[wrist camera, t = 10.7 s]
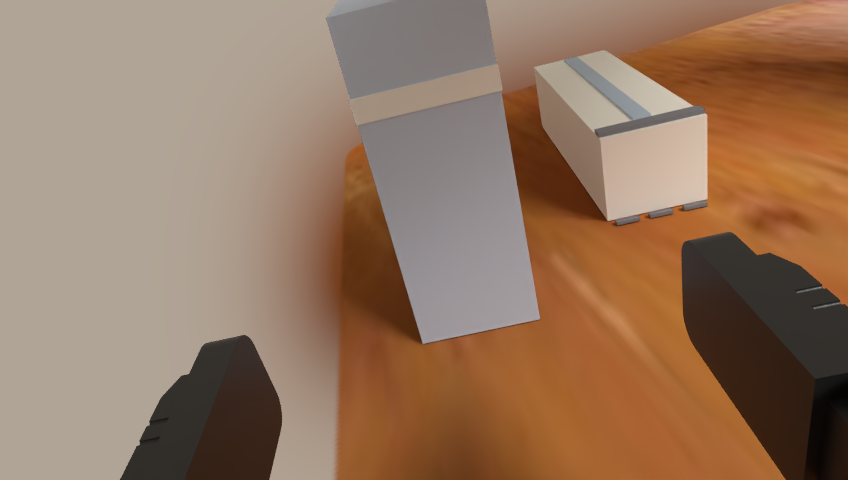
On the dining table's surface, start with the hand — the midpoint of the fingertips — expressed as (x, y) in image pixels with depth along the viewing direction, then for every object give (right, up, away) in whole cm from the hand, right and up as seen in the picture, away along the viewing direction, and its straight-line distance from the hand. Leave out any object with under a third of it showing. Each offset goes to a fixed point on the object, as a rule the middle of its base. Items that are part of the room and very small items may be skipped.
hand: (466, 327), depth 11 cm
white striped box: (+10, +6, +22) cm, 25 cm away
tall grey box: (+1, -1, +14) cm, 14 cm away
